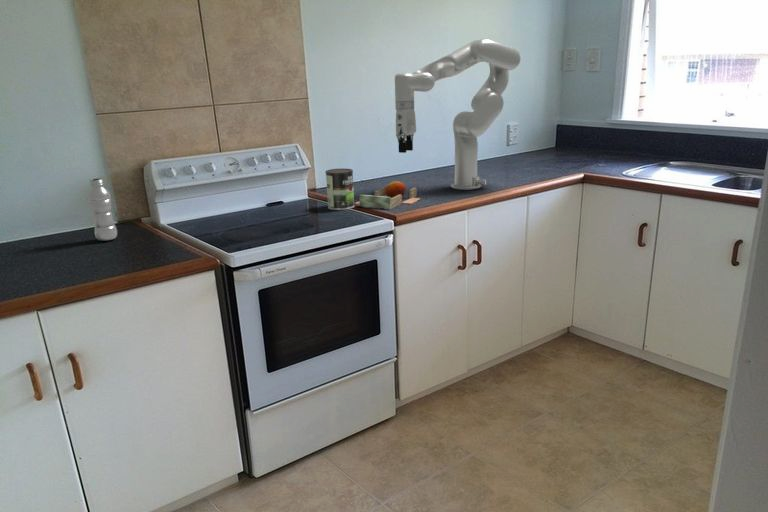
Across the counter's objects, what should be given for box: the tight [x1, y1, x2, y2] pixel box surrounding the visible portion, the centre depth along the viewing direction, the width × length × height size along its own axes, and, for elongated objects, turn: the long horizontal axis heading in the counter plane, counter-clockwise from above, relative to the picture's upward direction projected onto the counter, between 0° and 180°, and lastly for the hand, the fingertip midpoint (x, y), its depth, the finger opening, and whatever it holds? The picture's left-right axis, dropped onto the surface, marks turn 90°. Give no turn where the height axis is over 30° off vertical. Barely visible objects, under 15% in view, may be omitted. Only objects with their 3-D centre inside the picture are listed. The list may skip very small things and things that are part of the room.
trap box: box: [358, 186, 418, 210], centre depth 231 cm, size 13×24×4 cm, turn 152°
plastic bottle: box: [87, 177, 118, 242], centre depth 189 cm, size 6×7×20 cm
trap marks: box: [354, 197, 422, 205], centre depth 231 cm, size 21×16×1 cm
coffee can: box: [325, 168, 355, 211], centre depth 223 cm, size 10×10×14 cm
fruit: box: [385, 180, 406, 200], centre depth 235 cm, size 8×8×8 cm
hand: (405, 150), depth 239 cm, fingers open, 5 cm apart
